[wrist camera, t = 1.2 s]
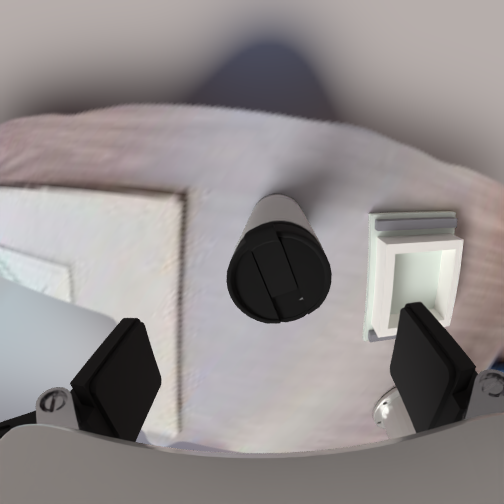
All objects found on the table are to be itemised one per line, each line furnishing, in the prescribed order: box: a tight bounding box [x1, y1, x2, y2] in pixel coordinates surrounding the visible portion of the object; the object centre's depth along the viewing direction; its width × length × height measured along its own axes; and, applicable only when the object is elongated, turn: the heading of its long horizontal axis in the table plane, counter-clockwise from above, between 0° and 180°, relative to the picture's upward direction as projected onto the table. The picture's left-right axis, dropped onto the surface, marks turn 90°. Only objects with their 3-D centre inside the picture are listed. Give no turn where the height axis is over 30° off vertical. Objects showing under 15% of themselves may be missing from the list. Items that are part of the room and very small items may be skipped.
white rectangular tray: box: [362, 211, 464, 342], centre depth 34 cm, size 18×13×4 cm
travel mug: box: [227, 194, 332, 323], centre depth 26 cm, size 6×7×20 cm
